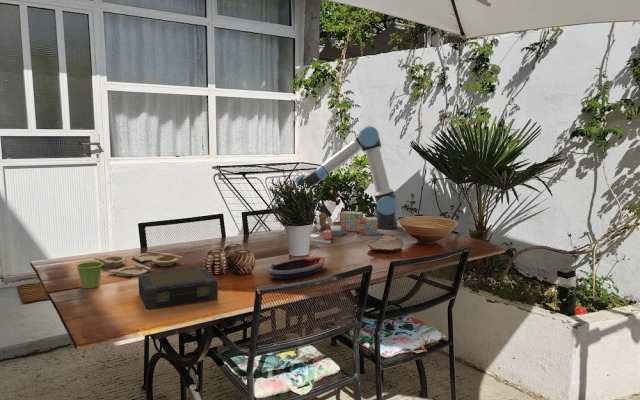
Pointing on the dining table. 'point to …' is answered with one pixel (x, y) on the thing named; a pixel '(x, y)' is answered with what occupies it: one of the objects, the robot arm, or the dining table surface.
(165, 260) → the tableware set
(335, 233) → the board
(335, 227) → the dome
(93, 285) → the plant pot
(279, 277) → the dish
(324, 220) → the pawn
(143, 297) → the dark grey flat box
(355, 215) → the stack of blocks
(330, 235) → the die
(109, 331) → the dining table surface
